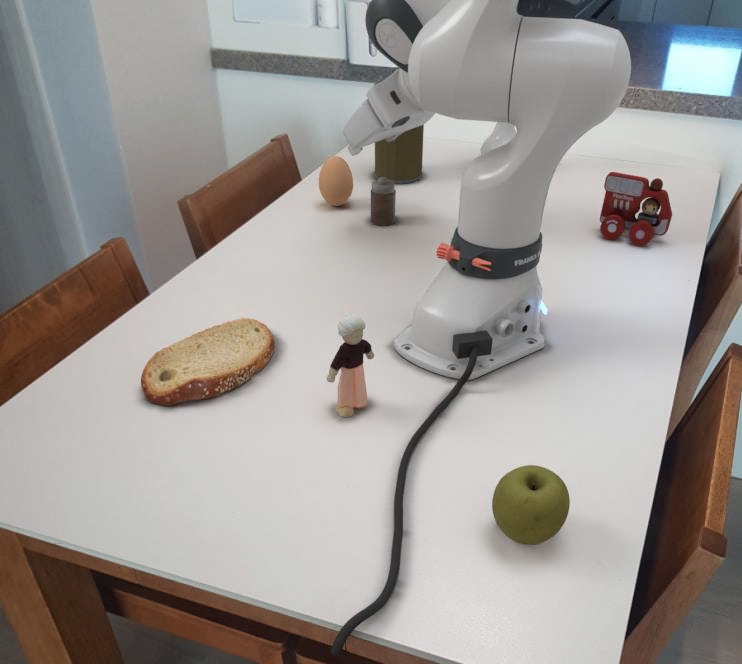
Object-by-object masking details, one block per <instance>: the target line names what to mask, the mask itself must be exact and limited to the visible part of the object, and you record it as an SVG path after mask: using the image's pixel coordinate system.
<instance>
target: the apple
mask: <svg viewBox="0 0 742 664" xmlns="http://www.w3.org/2000/svg"><path fill="white" fill-rule="evenodd" d="M494 488H495V489H494V491H493V494H492V502H491V510H492V515H493V519H494V521H495V524H496V525H497V526H498V528H499V529H500V531H501V533H503V534H504V535H505V537H507V538H508V539H510V540H512V541H513V542H515V543H517V544H519V545H524V546H535V545H539V544H542V543H545V542H546V541H549V540H551V539H552V538H553V537H555V536H556V535H557V534H558V533H559V531H560V530H561V529H562V528H563V526H564V525H565V523H566V521H567V518H568V516H569V512H570V504H571V499H570V493H569V490H568V487H567V486H566V483H565V482H564V480H563V479H562V478H561V476H560V475H558V474H557V473H556V472H554V471H552V470H551V469H549V468H547V467H543V466H541V465H536V464H535V465H534V464H528V465H522V466H519V467H516V468H513V469H512V470H510V471H508V472H507V473H505V475H503V476H502V477H501V478H500V479H499V480H498V483H497V484H496V486H495V487H494Z"/></svg>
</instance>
